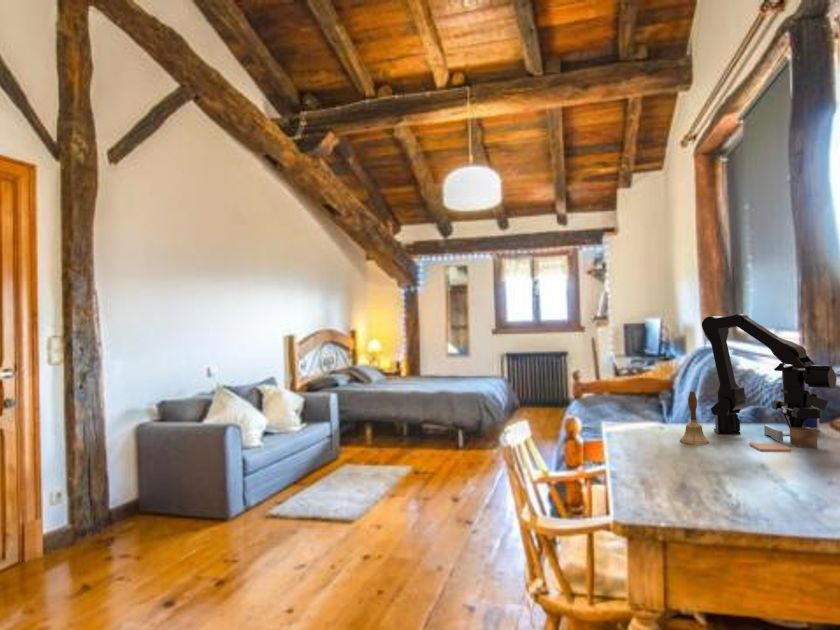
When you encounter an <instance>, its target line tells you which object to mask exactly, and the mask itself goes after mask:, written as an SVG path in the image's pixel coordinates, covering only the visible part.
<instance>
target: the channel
mask: <svg viewBox="0 0 840 630" xmlns="http://www.w3.org/2000/svg"><path fill="white" fill-rule="evenodd" d="M763 430H764V432H763V433H764V435H765V434H767V435H769V436H771V437H772V438H771V437H770V438H771V439H773V438H774V439H773V440H775V439H776V440H775V441H777V440H778V442H784V437H785V436H787V437H790V432H784V431H783V430H780V429H778V428H776V427H774V426H772V425H769V424H764V429H763ZM767 435H766V436H767ZM769 436H768V437H769Z"/></svg>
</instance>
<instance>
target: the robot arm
mask: <svg viewBox="0 0 840 630" xmlns="http://www.w3.org/2000/svg"><path fill="white" fill-rule="evenodd" d="M701 328H702V331H703V333H704V336H705V337H706V339H707V340H708V341H709V342H710V344H711V350H712V354H713V358H714V363H715V368H716V369H715V370H716V374H717V378H718V383H719V386H718V390H717V402H716V403H715V404H714V405H713V406H712V407H711V408H710V411H711V414H712V415H713V416H714V424H715V425H714V428H713V431H715V432H716V433H718V434H721V435H724V434H725V435H726V434H728V435H729V433H735V434H736V433H737V434H736V435H739V434H738V433H741V420H740V418H739V415H738V414H740V412H741V411H742V410H741V409H742V408H744V407H745V405H746V400H747V399H748V398H747V396H746V395H745V388H744V387H742V386H741V387H739V385H738V384H737V382H736V379H735V374H734V369H733V365H732V359H731V355H730V352H729V351H730V350H729V347H728V340H727V339H728V336H729V332H730V331H729V329H731V328H739V329H741V330H742V331H743V332H744V333H746V334H747V335H749V336H751V337H752V338H754V339H755V340H756V341H758V342H759V343H761V344H762V345H764V346H765V347H766V348H768V349H769V350H770V352H772V355H774V357H776V359H777V360H779V361H780V363H779V364H778V365H777V366H776V367H774V369H773V370H774V371H775V372H781V375H782V380H781V381H782V388H780V391H779V392H780V393H782V397H783V399H773V401H771V408H772V409H773V410H775V411H778V410H779V409H781V410H782V412H781V411H780V412H779V413H780V415H781V416H782V419H783V420H784V422H785V423H786V426H788V428H789V429H790V427H802V426H803V423H804V421H805V420H806V419H808V418H819V419H822V411H826V410H827V407H828V404H829V400H827V399H823V398H820V397H817V396H818V394H817V393H813V392H811V391H810V390H808V389H806V385H808V387H809V388H818V389H819V388H820V389H834V388H835V387H836V385H837V375H836V372H835V370H834V369H833V365H831V364H824V365H819V364H818V365H817V364H815V362H814V361H813V360H812V359H811V358H810V357H809V355H807V350H806V348H804V347H803V346H802V345H801V344H797V343H796V342H792V341H791V340H788V339H784V338H782V337H780V336H778V335H776V333H774V332H772V331H770V330H769V329H767V328H766V327H764V326H763V325H761V324H759V323H758V322H756V321H755V320H754V319H752V318H750V317H749V316H748V315H747V314H745V313H737V314H734V315H727V316H720V315H715V316H707V317H705V318H704V319H703V321H701ZM811 406H814V407H815V408H814V407H811ZM817 408H818V409H819V410H818V409H817ZM820 410H822V411H820ZM735 434H734V435H735Z"/></svg>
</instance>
